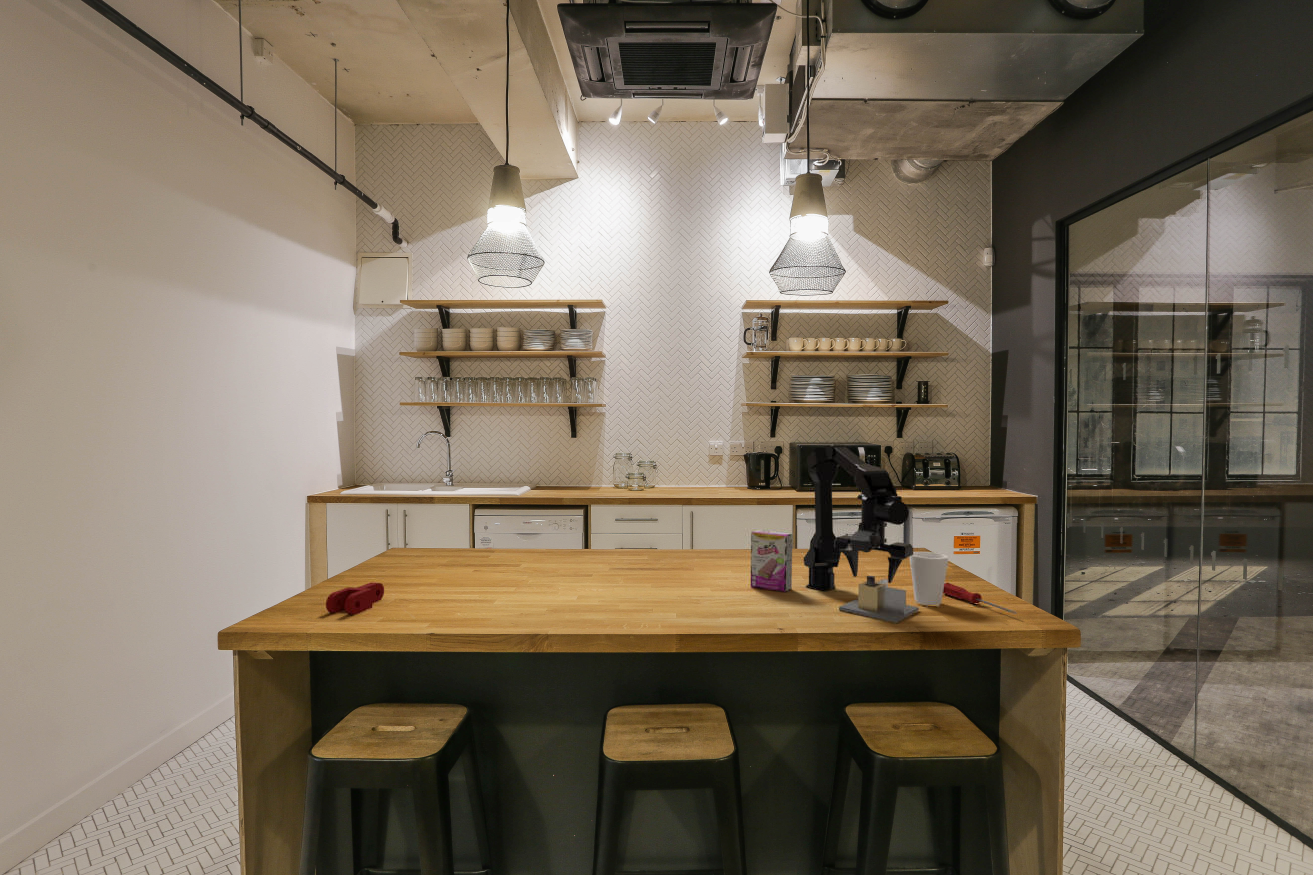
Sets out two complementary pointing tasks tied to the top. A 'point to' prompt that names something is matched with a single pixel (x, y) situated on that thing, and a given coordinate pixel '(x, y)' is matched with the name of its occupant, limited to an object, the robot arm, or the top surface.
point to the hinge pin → (871, 580)
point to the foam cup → (928, 576)
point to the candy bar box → (771, 560)
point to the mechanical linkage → (355, 598)
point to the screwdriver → (967, 595)
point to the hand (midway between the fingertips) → (872, 579)
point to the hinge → (881, 597)
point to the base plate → (880, 614)
